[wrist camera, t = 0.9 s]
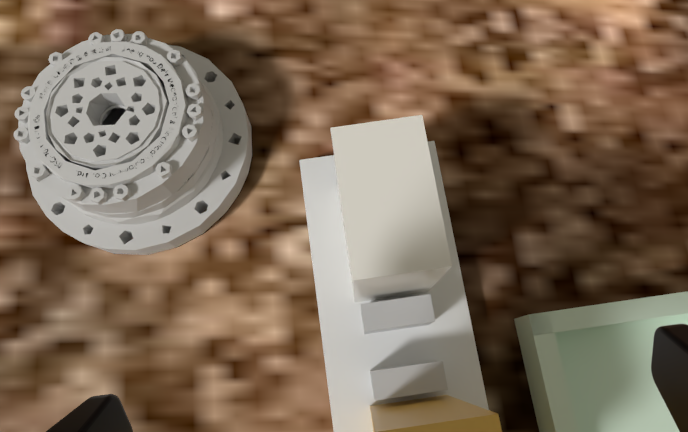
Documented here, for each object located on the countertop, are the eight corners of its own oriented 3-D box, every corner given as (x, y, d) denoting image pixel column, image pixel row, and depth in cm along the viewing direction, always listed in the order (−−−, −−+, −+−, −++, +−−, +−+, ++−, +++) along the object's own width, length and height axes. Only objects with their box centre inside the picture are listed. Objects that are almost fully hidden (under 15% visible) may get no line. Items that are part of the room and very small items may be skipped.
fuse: (427, 292, 22) (452, 266, 16) (354, 302, 22) (352, 280, 16) (406, 177, 23) (422, 114, 17) (337, 187, 23) (330, 128, 17)
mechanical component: (258, 56, 26) (59, 60, 26) (238, -3, 22) (2, 3, 22) (249, 255, 24) (28, 257, 24) (224, 231, 19) (-44, 234, 20)
